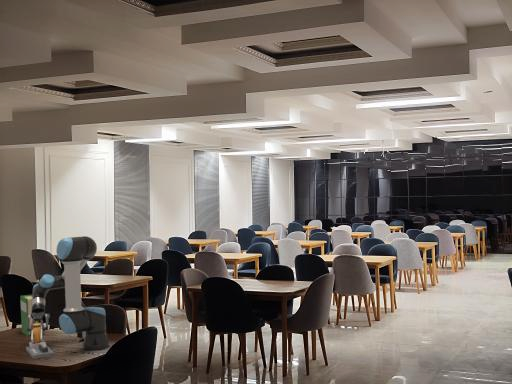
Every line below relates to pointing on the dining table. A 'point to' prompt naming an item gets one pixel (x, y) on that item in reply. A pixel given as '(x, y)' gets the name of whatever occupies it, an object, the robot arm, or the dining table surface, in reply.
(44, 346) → the breaker board
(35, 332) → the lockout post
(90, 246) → the robot arm
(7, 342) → the dining table surface
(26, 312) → the hardback book
